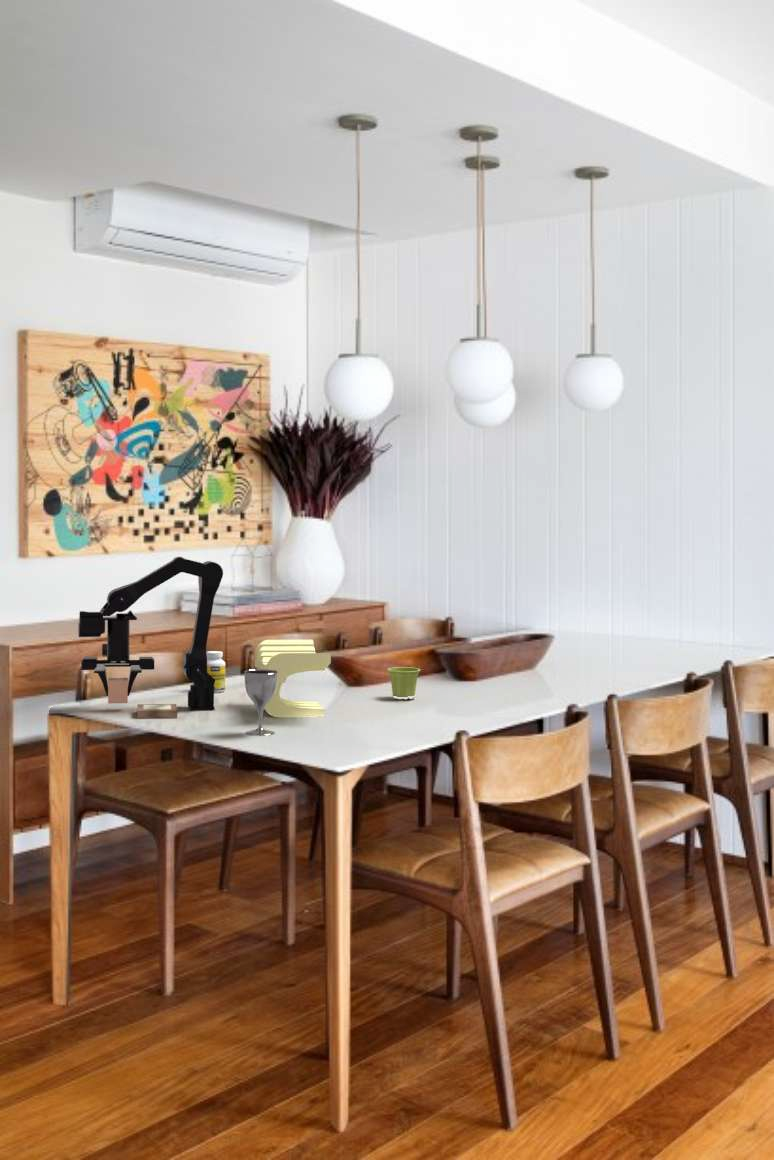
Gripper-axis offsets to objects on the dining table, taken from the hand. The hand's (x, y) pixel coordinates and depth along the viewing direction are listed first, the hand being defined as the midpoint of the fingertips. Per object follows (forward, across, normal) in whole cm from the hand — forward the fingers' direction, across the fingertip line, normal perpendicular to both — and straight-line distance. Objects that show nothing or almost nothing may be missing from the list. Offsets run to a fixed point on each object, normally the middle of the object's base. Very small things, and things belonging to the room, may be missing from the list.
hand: (117, 695), depth 341 cm
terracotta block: (+2, 0, 0) cm, 2 cm away
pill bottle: (+4, -27, -32) cm, 42 cm away
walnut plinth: (+4, -10, +8) cm, 13 cm away
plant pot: (+4, -80, -15) cm, 82 cm away
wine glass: (+4, -34, +35) cm, 49 cm away
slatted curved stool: (+4, -45, +6) cm, 46 cm away
